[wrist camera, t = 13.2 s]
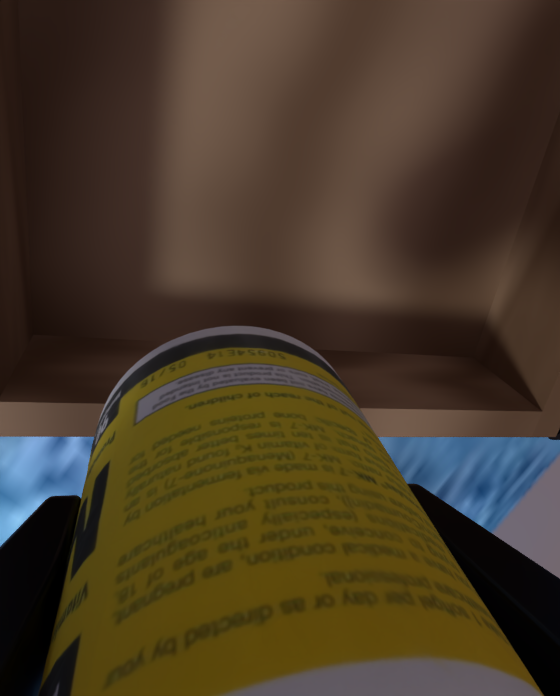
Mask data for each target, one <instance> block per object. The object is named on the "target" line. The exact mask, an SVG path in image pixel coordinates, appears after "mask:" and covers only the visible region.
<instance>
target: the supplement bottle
mask: <svg viewBox="0 0 560 696" xmlns="http://www.w3.org/2000/svg"><path fill="white" fill-rule="evenodd" d="M38 696H544V695H543V693H542V692H541V690H540V689H539V687H538V686H537V684H536V683H535V681H534V680H533V678H532V676H531V675H530V673H529V672H528V670H527V669H526V667H525V666H524V664H523V662H522V661H521V659H520V658H519V656H518V655H517V653H516V652H515V650H514V649H513V647H512V645H511V644H510V642H509V641H508V639H507V638H506V636H505V635H504V633H503V632H502V630H501V629H500V627H499V626H498V624H497V623H496V621H495V620H494V618H493V616H492V615H491V613H490V612H489V610H488V609H487V607H486V606H485V604H484V603H483V601H482V600H481V598H480V597H479V595H478V594H477V592H476V591H475V589H474V588H473V586H472V585H471V583H470V582H469V580H468V578H467V577H466V575H465V574H464V572H463V571H462V569H461V568H460V566H459V565H458V563H457V562H456V560H455V559H454V557H453V555H452V554H451V552H450V551H449V549H448V548H447V546H446V545H445V543H444V541H443V540H442V538H441V537H440V535H439V533H438V532H437V530H436V529H435V527H434V525H433V524H432V522H431V521H430V519H429V517H428V516H427V514H426V513H425V511H424V510H423V508H422V507H421V505H420V504H419V502H418V500H417V499H416V497H415V496H414V494H413V493H412V491H411V489H410V488H409V486H408V485H407V483H406V481H405V480H404V478H403V477H402V475H401V474H400V472H399V470H398V469H397V467H396V466H395V464H394V462H393V461H392V459H391V458H390V456H389V454H388V453H387V451H386V450H385V448H384V446H383V445H382V443H381V442H380V440H379V439H378V437H377V435H376V434H375V432H374V431H373V429H372V427H371V426H370V424H369V423H368V421H367V419H366V418H365V416H364V415H363V413H362V411H361V410H360V408H359V407H358V405H357V404H356V402H355V401H354V399H353V397H352V396H351V394H350V392H349V390H348V389H347V387H346V386H345V384H344V383H343V381H342V380H341V379H340V377H339V376H338V375H337V373H336V372H335V370H334V369H333V368H332V366H331V365H330V364H329V363H328V362H327V361H326V360H325V359H324V358H323V357H322V356H321V355H320V354H318V353H317V352H316V351H315V350H313V349H312V348H310V347H309V346H307V345H306V344H304V343H303V342H301V341H299V340H297V339H295V338H293V337H291V336H288V335H286V334H283V333H280V332H277V331H273V330H270V329H265V328H259V327H252V326H222V327H215V328H209V329H204V330H200V331H196V332H193V333H189V334H186V335H184V336H181V337H178V338H176V339H173V340H171V341H169V342H167V343H165V344H163V345H161V346H159V347H158V348H156V349H154V350H153V351H151V352H150V353H148V354H147V355H146V356H144V357H143V358H142V359H140V360H139V361H138V362H137V363H136V364H135V365H134V366H132V367H131V368H130V369H129V370H128V371H127V372H126V373H125V375H124V376H123V377H122V378H121V379H120V381H119V382H118V383H117V385H116V386H115V388H114V389H113V391H112V392H111V394H110V396H109V398H108V400H107V402H106V404H105V406H104V408H103V411H102V413H101V416H100V419H99V422H98V425H97V429H96V433H95V437H94V441H93V444H92V449H91V455H90V460H89V464H88V471H87V476H86V480H85V484H84V489H83V493H82V498H81V503H80V507H79V512H78V516H77V521H76V525H75V529H74V534H73V538H72V543H71V546H70V549H69V553H68V556H67V561H66V567H65V574H64V578H63V584H62V589H61V594H60V598H59V602H58V609H57V615H56V619H55V623H54V627H53V632H52V637H51V642H50V646H49V651H48V655H47V659H46V663H45V668H44V673H43V677H42V681H41V686H40V690H39V694H38Z"/></svg>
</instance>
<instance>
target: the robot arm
mask: <svg viewBox="0 0 560 696" xmlns="http://www.w3.org/2000/svg"><path fill="white" fill-rule="evenodd" d="M548 438H549V439H552V440H560V429H559V431H558V433H557V435H556V437H548ZM407 485H408V486H409V488H410V489H411V491H412V493H413V494H414V496H415V497H416V499H417V500H418V502H419V504H420V505H421V507H422V508H423V510H424V511H425V513H426V514H427V516H428V517H429V519H430V521H431V522H432V524H433V525H434V527H435V529H436V530H437V532H438V533H439V535H440V537H441V538H442V540H443V541H444V543H445V545H446V546H447V548H448V549H449V551H450V552H451V554H452V555H453V557H454V559H455V560H456V562H457V563H458V565H459V566H460V568H461V569H462V571H463V572H464V574H465V575H466V577H467V578H468V580H469V582H470V583H471V585H472V586H473V588H474V589H475V591H476V592H477V594H478V595H479V597H480V598H481V600H482V601H483V603H484V604H485V606H486V607H487V609H488V610H489V612H490V613H491V615H492V616H493V618H494V620H495V621H496V623H497V624H498V626H499V627H500V629H501V630H502V632H503V633H504V635H505V636H506V638H507V639H508V641H509V642H510V644H511V645H512V647H513V649H514V650H515V652H516V653H517V655H518V656H519V658H520V659H521V661H522V662H523V664H524V666H525V667H526V669H527V670H528V672H529V673H530V675H531V676H532V678H533V680H534V681H535V683H536V684H537V686H538V687H539V689H540V690H541V692H542V693H543V695H544V696H560V579H559V578H558V577H556V576H555V575H553V574H552V573H550V572H549V571H547V570H546V569H544V568H543V567H541V566H540V565H538V564H537V563H535V562H534V561H532V560H530V559H529V558H528V557H526V556H525V555H523V554H522V553H520V552H519V551H517V550H516V549H514V548H513V547H511V546H510V545H508V544H507V543H505V542H504V541H502V540H501V539H499V538H498V537H496V536H495V535H493V534H492V533H490V532H489V531H487V530H486V529H484V528H483V527H481V526H480V525H478V524H477V523H475V522H474V521H472V520H471V519H469V518H468V517H466V516H465V515H463V514H462V513H460V512H459V511H457V510H456V509H454V508H453V507H451V506H450V505H448V504H447V503H445V502H444V501H442V500H441V499H439V498H438V497H436V496H435V495H433V494H432V493H430V492H429V491H428V490H426V489H425V488H423V487H421V486H420V485H418V484H407ZM80 503H81V498H80V497H79V496H77V495H70V496H52V497H49V498H48V499H46V500H45V501H44V502H43V503H42V504H41V505H40V506H39V508H38V509H37V510H36V511H35V512H34V513H33V514H32V515H31V516H30V517H29V518H28V519H27V520H26V521H25V522H24V523H23V524H22V525H21V526H20V527H19V528H18V529H17V530H16V531H15V532H14V533H13V534H12V535H11V536H10V537H9V538H8V539H7V540H6V541H5V542H4V543H3V544H2V545H1V546H0V696H38V694H39V690H40V686H41V681H42V677H43V673H44V668H45V663H46V659H47V655H48V651H49V646H50V642H51V637H52V632H53V627H54V623H55V619H56V615H57V609H58V602H59V598H60V594H61V589H62V584H63V578H64V574H65V567H66V561H67V556H68V553H69V549H70V546H71V543H72V538H73V534H74V529H75V525H76V521H77V516H78V512H79V507H80Z"/></svg>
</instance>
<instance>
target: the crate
mask: <svg viewBox="0 0 560 696" xmlns="http://www.w3.org/2000/svg"><path fill="white" fill-rule="evenodd" d="M222 326H252V327H259V328H265V329H270V330H273V331H277V332H280V333H283V334H286V335H288V336H291V337H293V338H295V339H297V340H299V341H301V342H303V343H304V344H306V345H307V346H309V347H310V348H312V349H313V350H315V351H316V352H317V353H318V354H320V355H321V356H322V357H323V358H324V359H325V360H326V361H327V362H328V363H329V364H330V365H331V366H332V368H333V369H334V370H335V372H336V373H337V375H338V376H339V377H340V379H341V380H342V381H343V383H344V384H345V386H346V387H347V389H348V390H349V392H350V394H351V396H352V397H353V399H354V401H355V402H356V404H357V405H358V407H359V408H360V410H361V411H362V413H363V415H364V416H365V418H366V419H367V421H368V423H369V424H370V426H371V427H372V429H373V431H374V432H375V434H376V435H377V437H556V435H557V433H558V431H559V429H560V0H0V436H53V437H95V433H96V429H97V425H98V422H99V419H100V416H101V413H102V411H103V408H104V406H105V404H106V402H107V400H108V398H109V396H110V394H111V392H112V391H113V389H114V388H115V386H116V385H117V383H118V382H119V381H120V379H121V378H122V377H123V376H124V375H125V373H126V372H127V371H128V370H129V369H130V368H131V367H132V366H134V365H135V364H136V363H137V362H138V361H139V360H140V359H142V358H143V357H144V356H146V355H147V354H148V353H150V352H151V351H153V350H154V349H156V348H158V347H159V346H161V345H163V344H165V343H167V342H169V341H171V340H173V339H176V338H178V337H181V336H184V335H186V334H189V333H193V332H196V331H200V330H204V329H209V328H215V327H222Z"/></svg>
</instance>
